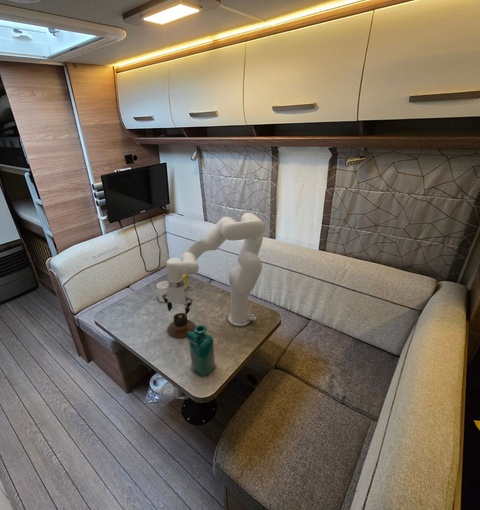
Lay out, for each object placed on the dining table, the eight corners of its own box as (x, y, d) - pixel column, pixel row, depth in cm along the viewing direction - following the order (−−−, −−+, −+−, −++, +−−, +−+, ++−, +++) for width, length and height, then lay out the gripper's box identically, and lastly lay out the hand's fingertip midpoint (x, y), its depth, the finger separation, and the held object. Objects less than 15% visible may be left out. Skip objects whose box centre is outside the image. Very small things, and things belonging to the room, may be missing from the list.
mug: (166, 291, 185) (164, 277, 181) (177, 293, 182) (175, 279, 177) (155, 300, 175) (153, 286, 171) (166, 303, 172) (164, 289, 168)
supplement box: (176, 290, 185) (175, 275, 181) (180, 285, 190) (179, 271, 186) (184, 291, 183) (183, 277, 179) (188, 287, 188) (187, 273, 184)
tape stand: (198, 323, 153) (197, 310, 150) (188, 340, 141) (187, 327, 138) (175, 319, 158) (173, 306, 154) (163, 335, 146) (161, 322, 142)
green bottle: (202, 357, 130) (199, 319, 121) (216, 365, 125) (214, 326, 116) (188, 370, 124) (183, 331, 114) (202, 379, 119) (198, 339, 109)
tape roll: (189, 320, 150) (188, 313, 148) (184, 328, 144) (183, 322, 142) (177, 317, 152) (176, 311, 150) (172, 326, 146) (171, 319, 144)
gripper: (195, 281, 138) (196, 309, 145) (163, 276, 143) (167, 304, 150) (189, 288, 132) (191, 318, 139) (156, 283, 137) (160, 312, 144)
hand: (178, 311), depth 144 cm, fingers open, 9 cm apart
